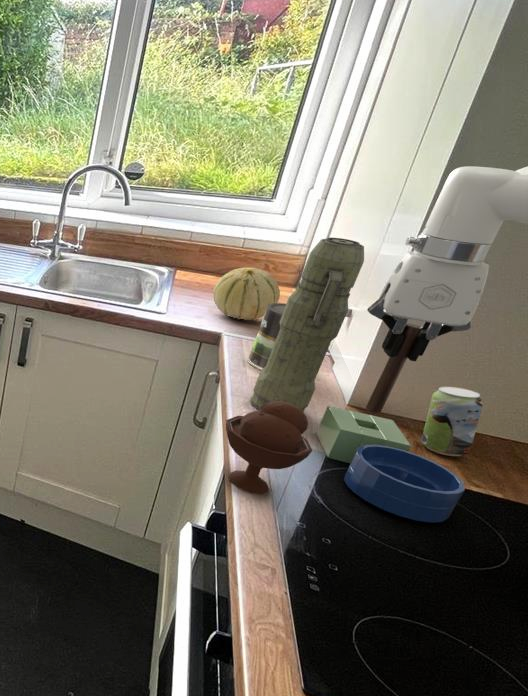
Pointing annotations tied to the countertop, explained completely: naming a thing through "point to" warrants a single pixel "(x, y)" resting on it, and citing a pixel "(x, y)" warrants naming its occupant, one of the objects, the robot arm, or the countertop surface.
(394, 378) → the stirring stick
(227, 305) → the cantaloupe
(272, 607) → the countertop surface
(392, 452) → the mixing bowl
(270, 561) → the countertop surface
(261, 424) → the ice cream bowl
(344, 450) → the utensil holder
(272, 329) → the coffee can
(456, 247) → the robot arm
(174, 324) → the countertop surface
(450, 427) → the beverage can
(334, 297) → the thermos
